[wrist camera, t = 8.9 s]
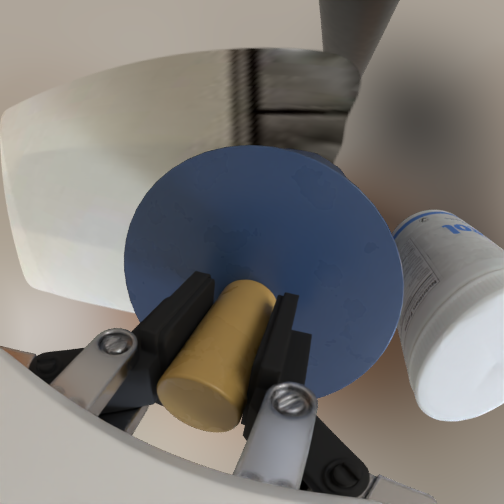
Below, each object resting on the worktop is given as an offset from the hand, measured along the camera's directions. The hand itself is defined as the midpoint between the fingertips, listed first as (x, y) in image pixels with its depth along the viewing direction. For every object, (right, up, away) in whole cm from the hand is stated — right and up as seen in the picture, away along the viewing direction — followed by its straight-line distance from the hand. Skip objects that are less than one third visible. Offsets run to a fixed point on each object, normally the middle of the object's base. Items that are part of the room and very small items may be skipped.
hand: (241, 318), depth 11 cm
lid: (0, +1, +1) cm, 2 cm away
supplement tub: (+16, +2, +12) cm, 20 cm away
